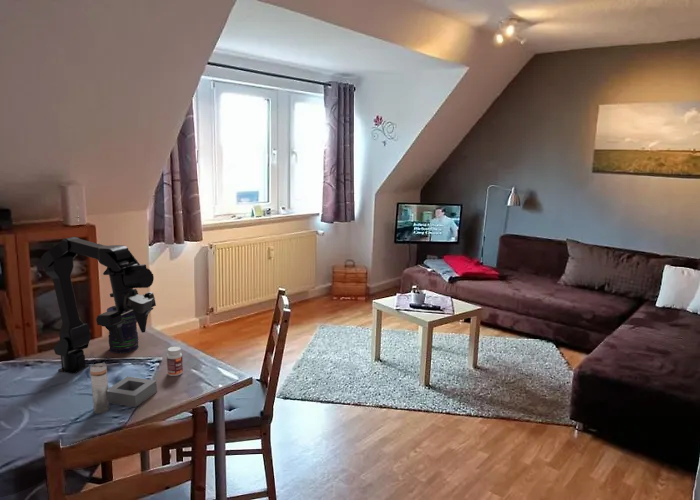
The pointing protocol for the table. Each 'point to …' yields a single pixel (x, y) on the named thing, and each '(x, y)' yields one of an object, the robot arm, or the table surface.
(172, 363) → the pill bottle
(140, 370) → the table surface
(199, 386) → the table surface
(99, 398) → the frosted bottle
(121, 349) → the storage jar
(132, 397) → the socket block
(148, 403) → the table surface
